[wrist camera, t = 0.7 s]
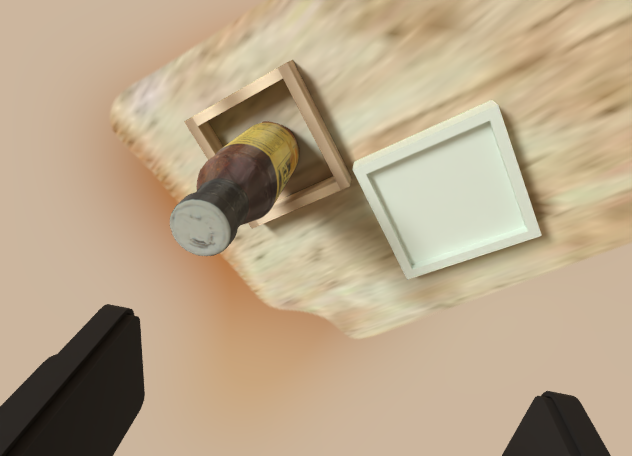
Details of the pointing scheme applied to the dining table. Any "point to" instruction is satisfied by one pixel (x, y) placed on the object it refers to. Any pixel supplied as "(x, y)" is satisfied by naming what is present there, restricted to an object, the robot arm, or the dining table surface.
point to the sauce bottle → (235, 188)
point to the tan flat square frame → (314, 122)
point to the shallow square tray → (449, 192)
